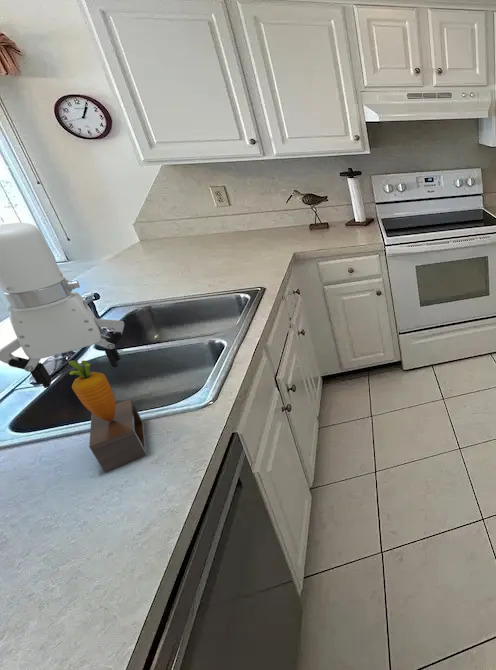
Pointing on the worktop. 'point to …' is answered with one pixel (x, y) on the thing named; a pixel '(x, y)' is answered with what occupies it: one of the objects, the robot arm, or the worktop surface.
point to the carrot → (93, 391)
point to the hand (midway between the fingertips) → (83, 373)
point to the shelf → (118, 437)
